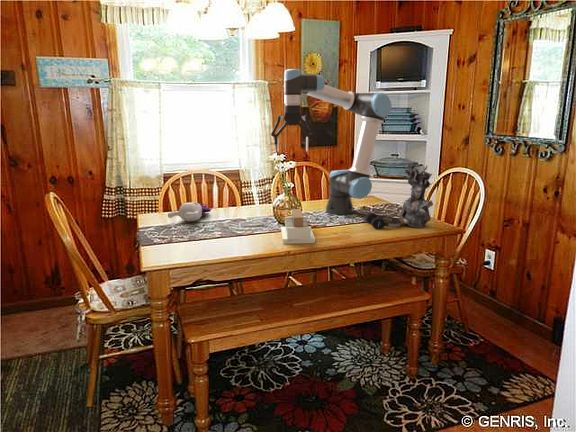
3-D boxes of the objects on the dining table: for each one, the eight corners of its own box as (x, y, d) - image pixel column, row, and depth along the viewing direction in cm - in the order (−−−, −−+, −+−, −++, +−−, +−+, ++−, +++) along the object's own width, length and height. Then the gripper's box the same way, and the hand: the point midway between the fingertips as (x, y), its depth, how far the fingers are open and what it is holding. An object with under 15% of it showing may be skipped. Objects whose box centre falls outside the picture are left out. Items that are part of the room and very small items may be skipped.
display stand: (281, 230, 209) (280, 216, 207) (310, 230, 210) (310, 216, 208) (282, 243, 191) (282, 228, 189) (315, 243, 192) (315, 227, 190)
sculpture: (415, 231, 208) (420, 168, 201) (393, 223, 221) (397, 164, 213) (437, 227, 215) (442, 166, 207) (414, 219, 228) (419, 162, 220)
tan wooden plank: (291, 219, 206) (291, 209, 204) (300, 219, 206) (300, 209, 205) (293, 228, 191) (293, 217, 190) (303, 228, 191) (303, 217, 190)
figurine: (220, 200, 239) (191, 203, 211) (221, 218, 240) (192, 223, 211) (195, 201, 244) (163, 203, 216) (195, 218, 245) (164, 223, 216)
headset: (359, 203, 221) (396, 205, 225) (356, 221, 223) (393, 223, 227) (368, 209, 208) (407, 212, 212) (365, 229, 210) (404, 231, 214)
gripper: (265, 105, 198) (266, 152, 203) (320, 104, 199) (320, 152, 204) (265, 104, 205) (266, 150, 210) (318, 104, 206) (318, 150, 212)
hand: (292, 151), depth 207 cm, fingers open, 13 cm apart
